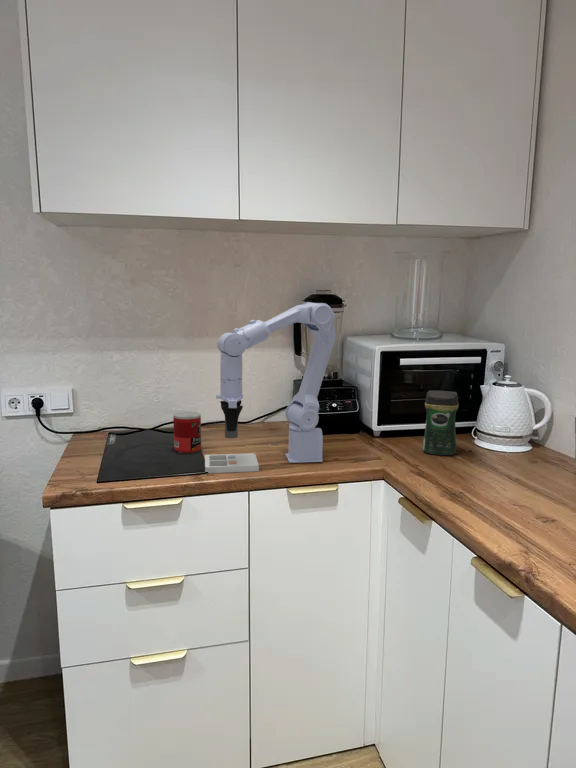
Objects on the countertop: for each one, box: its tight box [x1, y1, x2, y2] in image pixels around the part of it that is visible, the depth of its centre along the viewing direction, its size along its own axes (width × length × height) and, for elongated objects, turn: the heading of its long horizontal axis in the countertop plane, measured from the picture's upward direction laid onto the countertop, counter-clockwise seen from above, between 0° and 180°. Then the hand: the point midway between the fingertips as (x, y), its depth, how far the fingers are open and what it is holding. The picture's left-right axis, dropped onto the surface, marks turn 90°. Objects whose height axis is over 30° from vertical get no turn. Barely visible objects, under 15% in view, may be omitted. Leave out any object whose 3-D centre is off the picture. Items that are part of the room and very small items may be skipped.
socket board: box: [204, 452, 260, 474], centre depth 155 cm, size 14×11×2 cm
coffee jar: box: [422, 390, 459, 456], centre depth 169 cm, size 10×8×19 cm
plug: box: [224, 418, 239, 439], centre depth 152 cm, size 3×3×7 cm
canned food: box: [173, 411, 202, 454], centre depth 168 cm, size 8×8×11 cm
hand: (231, 429), depth 152 cm, fingers closed on plug, 3 cm apart
